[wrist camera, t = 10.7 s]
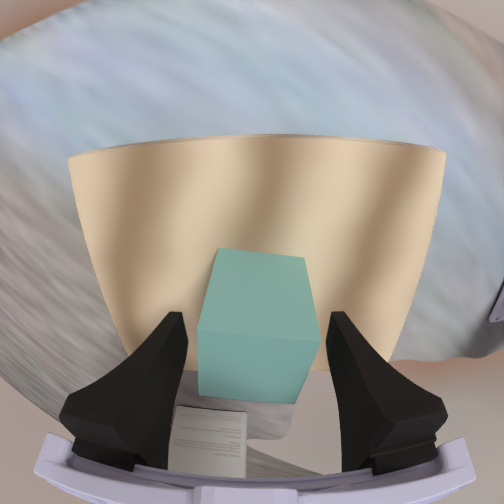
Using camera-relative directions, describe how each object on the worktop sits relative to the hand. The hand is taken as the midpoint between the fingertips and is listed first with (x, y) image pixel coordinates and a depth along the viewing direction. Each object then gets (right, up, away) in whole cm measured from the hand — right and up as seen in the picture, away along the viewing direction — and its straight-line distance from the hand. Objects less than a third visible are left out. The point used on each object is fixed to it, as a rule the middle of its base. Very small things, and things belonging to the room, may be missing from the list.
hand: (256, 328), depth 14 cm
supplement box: (-4, -15, +15) cm, 21 cm away
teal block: (0, +2, +3) cm, 3 cm away
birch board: (0, +2, +4) cm, 5 cm away
